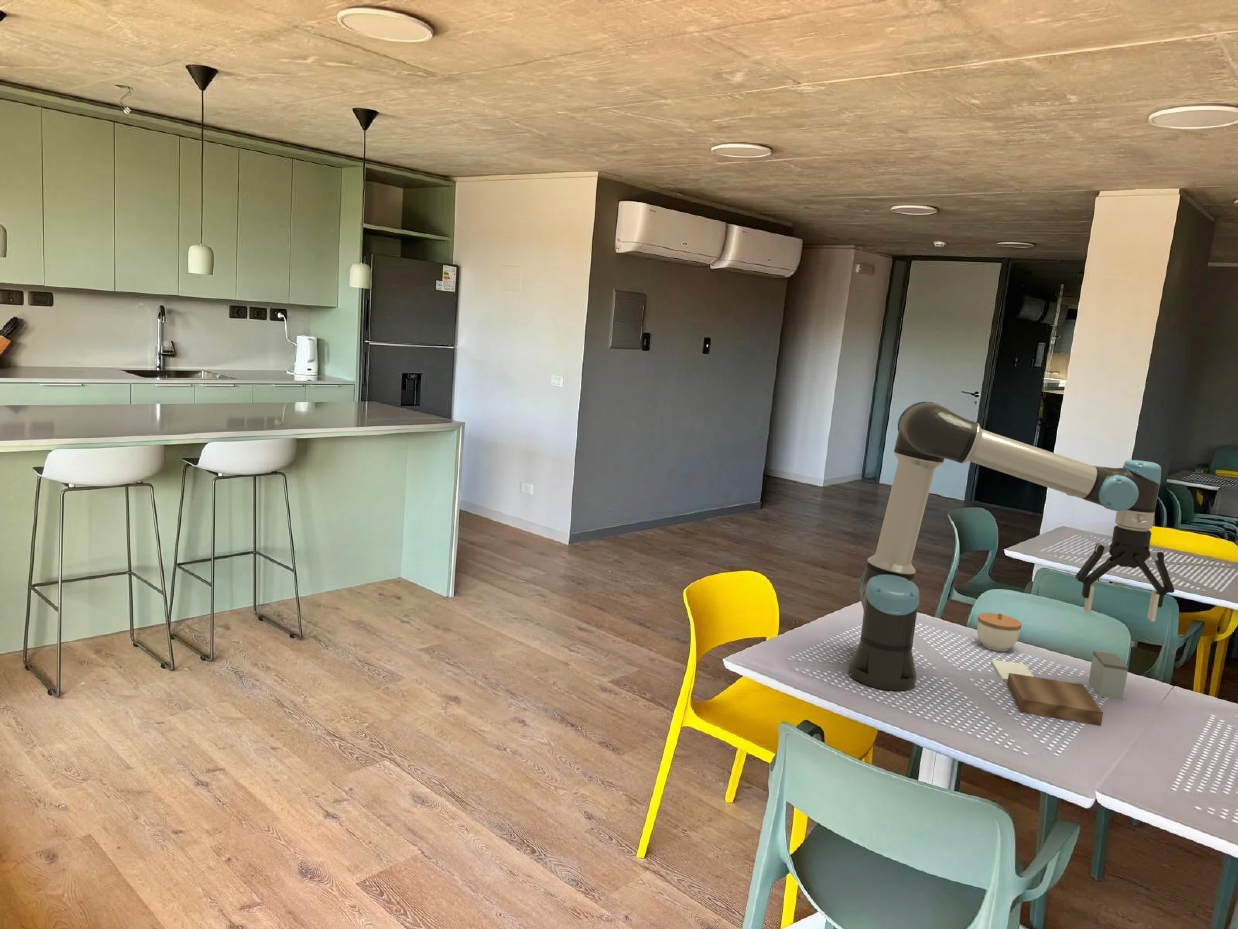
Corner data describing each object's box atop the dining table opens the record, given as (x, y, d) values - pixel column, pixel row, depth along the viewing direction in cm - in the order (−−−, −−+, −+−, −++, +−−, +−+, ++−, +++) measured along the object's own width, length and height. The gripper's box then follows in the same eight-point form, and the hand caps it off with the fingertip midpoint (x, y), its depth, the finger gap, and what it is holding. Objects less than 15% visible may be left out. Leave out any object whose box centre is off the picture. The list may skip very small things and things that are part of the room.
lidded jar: (965, 641, 231) (970, 608, 230) (993, 638, 235) (998, 606, 234) (997, 656, 221) (1002, 621, 220) (1026, 652, 226) (1031, 618, 225)
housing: (1098, 696, 200) (1104, 663, 198) (1088, 682, 208) (1093, 651, 207) (1122, 700, 198) (1128, 667, 197) (1110, 685, 207) (1116, 654, 206)
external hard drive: (1024, 670, 214) (1038, 689, 202) (990, 665, 216) (1002, 684, 204) (1025, 664, 214) (1039, 683, 202) (991, 659, 216) (1003, 677, 204)
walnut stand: (1020, 712, 187) (1022, 699, 186) (1007, 685, 202) (1008, 672, 202) (1100, 725, 183) (1103, 712, 182) (1080, 696, 198) (1082, 684, 198)
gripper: (1078, 524, 197) (1064, 612, 200) (1200, 537, 191) (1184, 628, 194) (1070, 518, 204) (1057, 603, 207) (1187, 530, 198) (1172, 618, 201)
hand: (1118, 615), depth 200 cm, fingers open, 13 cm apart
